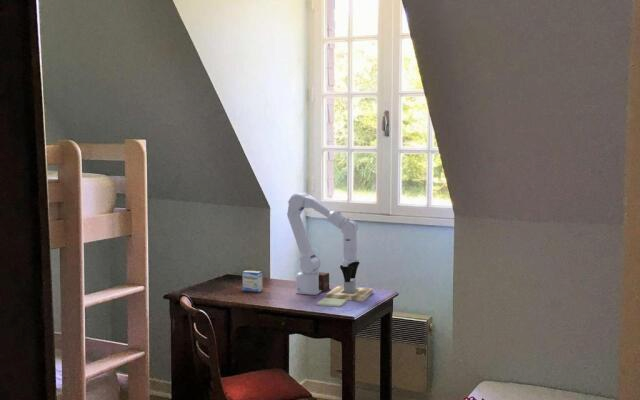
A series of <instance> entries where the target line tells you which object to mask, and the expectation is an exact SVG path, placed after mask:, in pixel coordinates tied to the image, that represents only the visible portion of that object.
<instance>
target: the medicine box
mask: <svg viewBox="0 0 640 400" xmlns="http://www.w3.org/2000/svg"><path fill="white" fill-rule="evenodd" d="M242 291H243V292H251V293H253V292H254V293H260V292H261V291H263V271H258V270H244V271H242Z"/></svg>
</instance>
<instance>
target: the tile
mask: <svg viewBox="0 0 640 400" xmlns="http://www.w3.org/2000/svg"><path fill="white" fill-rule="evenodd" d="M348 302H349V300H348V299H335V298H326V297H324V298H322V299H321V300H320V301H318V302H317V303H316V306H322V307H323V306H324V307H336V308H341V307H343V305H345V304H346V303H348Z"/></svg>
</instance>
